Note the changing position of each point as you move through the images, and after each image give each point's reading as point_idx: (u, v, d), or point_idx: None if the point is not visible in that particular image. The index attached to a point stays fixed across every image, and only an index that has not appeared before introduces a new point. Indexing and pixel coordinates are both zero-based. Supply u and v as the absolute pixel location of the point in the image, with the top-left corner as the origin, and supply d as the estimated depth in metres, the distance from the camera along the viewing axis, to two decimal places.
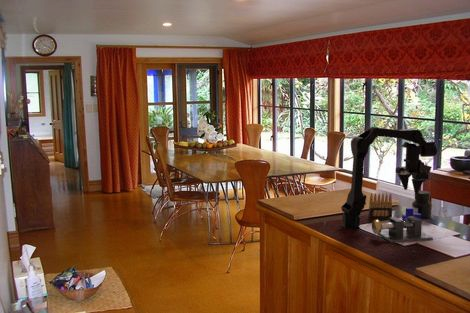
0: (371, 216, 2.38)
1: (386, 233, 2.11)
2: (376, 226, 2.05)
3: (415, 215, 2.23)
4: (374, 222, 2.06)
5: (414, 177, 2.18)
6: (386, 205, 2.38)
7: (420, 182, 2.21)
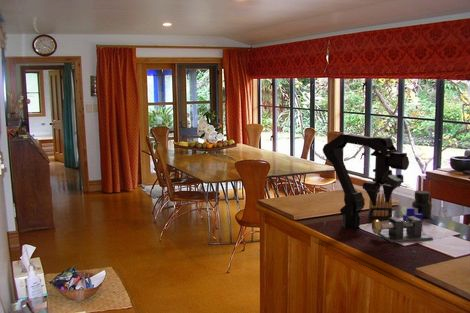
0: (371, 216, 2.38)
1: (386, 233, 2.11)
2: (376, 226, 2.05)
3: (416, 215, 2.23)
4: (374, 222, 2.06)
5: None
6: (386, 205, 2.38)
7: (374, 193, 2.07)
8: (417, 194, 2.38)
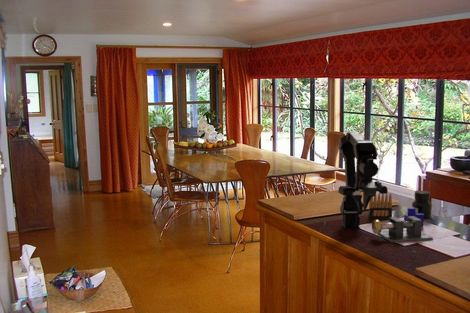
0: (371, 216, 2.38)
1: (386, 233, 2.11)
2: (376, 226, 2.05)
3: (417, 215, 2.23)
4: (374, 222, 2.06)
5: None
6: (386, 205, 2.38)
7: None
8: (417, 194, 2.38)
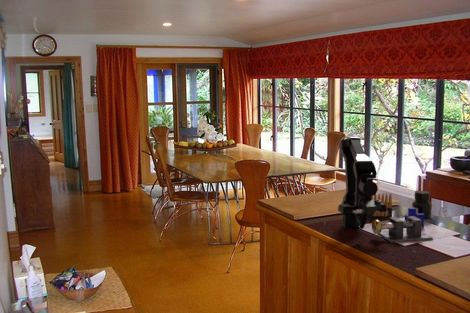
0: (371, 216, 2.38)
1: (386, 233, 2.11)
2: (376, 226, 2.05)
3: (418, 215, 2.23)
4: (374, 222, 2.06)
5: None
6: (386, 205, 2.38)
7: None
8: (417, 194, 2.38)
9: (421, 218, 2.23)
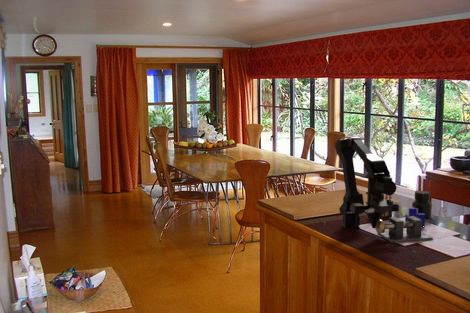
0: None
1: (386, 233, 2.11)
2: (380, 226, 2.05)
3: (419, 215, 2.23)
4: (378, 222, 2.07)
5: None
6: None
7: None
8: (417, 194, 2.38)
9: (422, 218, 2.23)
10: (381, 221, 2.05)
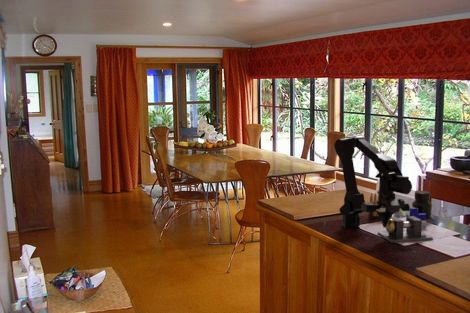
0: (371, 216, 2.38)
1: (386, 233, 2.11)
2: (390, 226, 2.06)
3: (420, 215, 2.23)
4: (388, 221, 2.07)
5: None
6: None
7: None
8: (417, 194, 2.38)
9: (423, 218, 2.23)
10: (391, 220, 2.06)
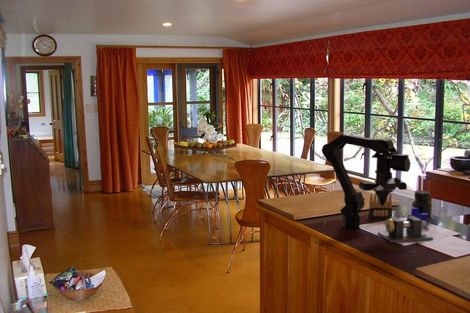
0: (371, 216, 2.38)
1: (386, 233, 2.11)
2: (390, 226, 2.06)
3: (422, 215, 2.23)
4: (388, 221, 2.07)
5: None
6: (386, 205, 2.38)
7: None
8: (417, 194, 2.38)
9: (425, 218, 2.23)
10: (391, 220, 2.06)
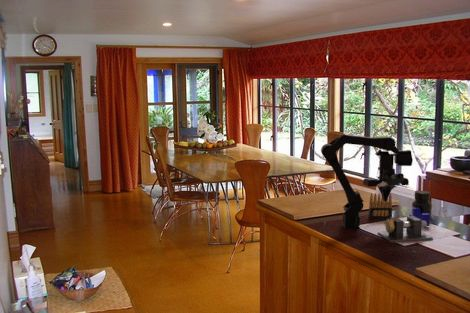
0: (371, 216, 2.38)
1: (386, 233, 2.11)
2: (390, 226, 2.06)
3: (423, 215, 2.23)
4: (388, 221, 2.07)
5: None
6: (386, 205, 2.38)
7: None
8: (417, 194, 2.38)
9: (426, 218, 2.23)
10: (391, 220, 2.06)
